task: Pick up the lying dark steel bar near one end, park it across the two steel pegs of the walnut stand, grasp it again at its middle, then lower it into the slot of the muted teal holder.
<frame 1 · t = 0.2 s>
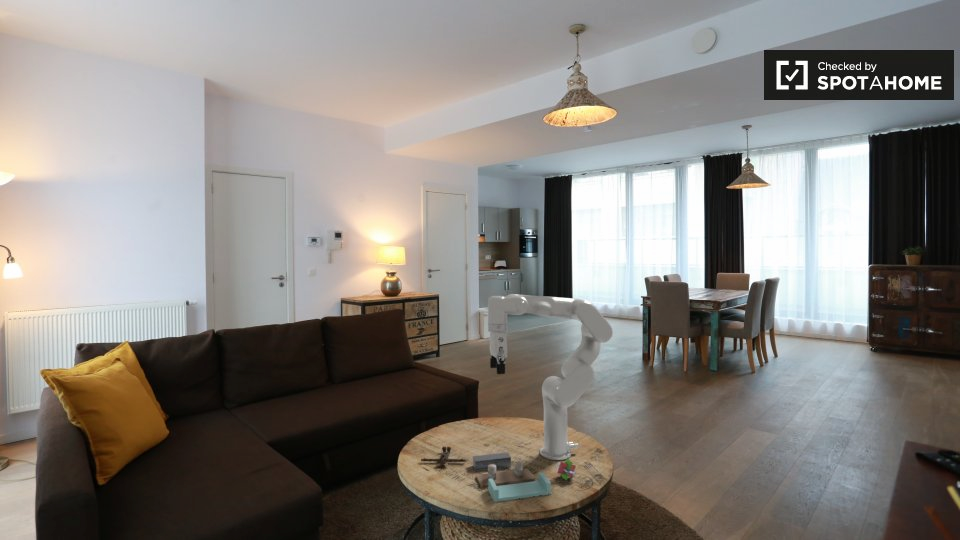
hand: (497, 370, 186), 36 cm above the table, tool pointing down, fingers open, 9 cm apart
geometric puzzle: (566, 478, 172), on the table
bear figurine: (444, 461, 188), on the table
peg stand: (505, 479, 172), on the table
steel bar: (491, 466, 182), on the table
slot holder: (519, 492, 162), on the table
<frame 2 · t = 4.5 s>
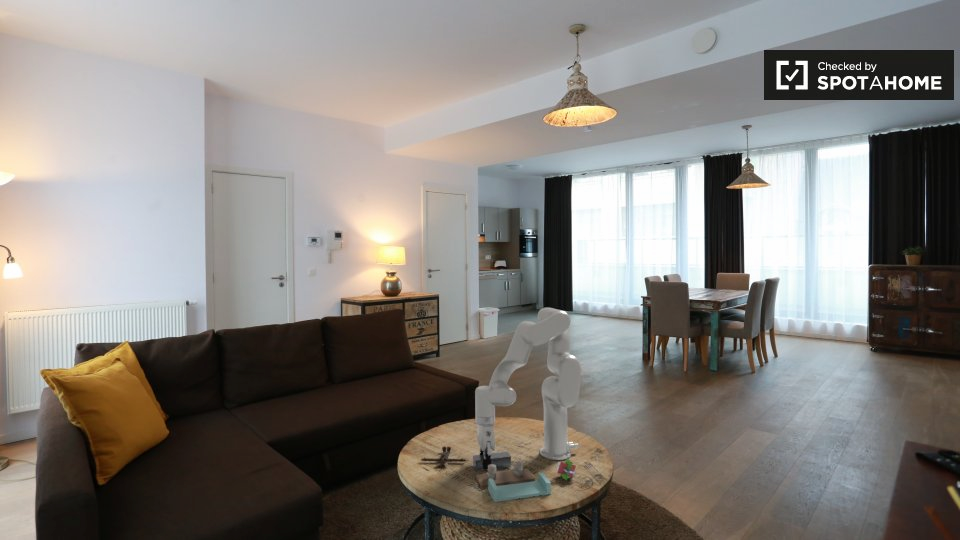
hand: (485, 465, 182), 1 cm above the table, tool pointing down, fingers closed on steel bar, 4 cm apart
steel bar: (491, 466, 182), on the table, touching gripper
everything else where it was.
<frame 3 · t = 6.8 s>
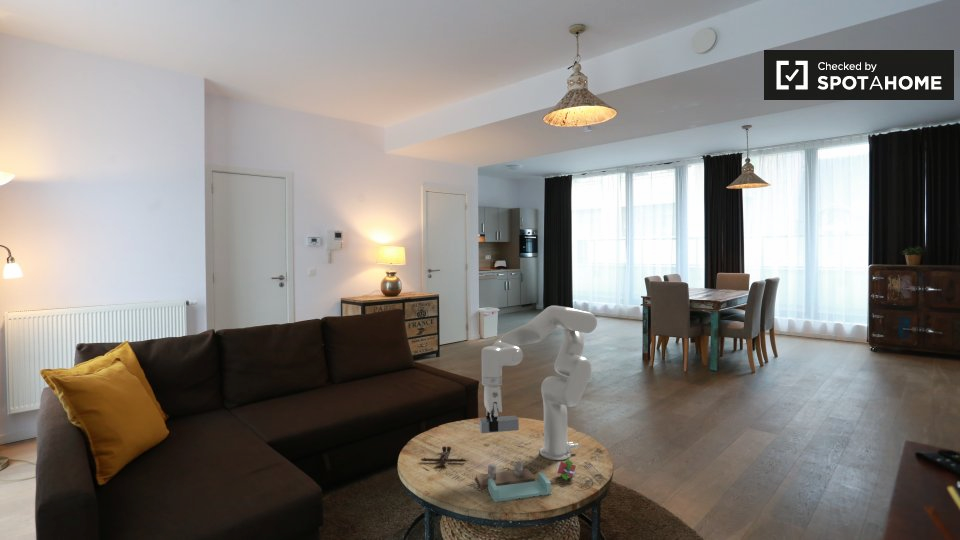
hand: (492, 428, 175), 17 cm above the table, tool pointing down, fingers closed on steel bar, 4 cm apart
steel bar: (498, 429, 176), point 17 cm above the table, touching gripper
everything else where it was.
when the fingers open (7 cm above the table, at t = 9.6 s): steel bar drops 1 cm, resting on peg stand.
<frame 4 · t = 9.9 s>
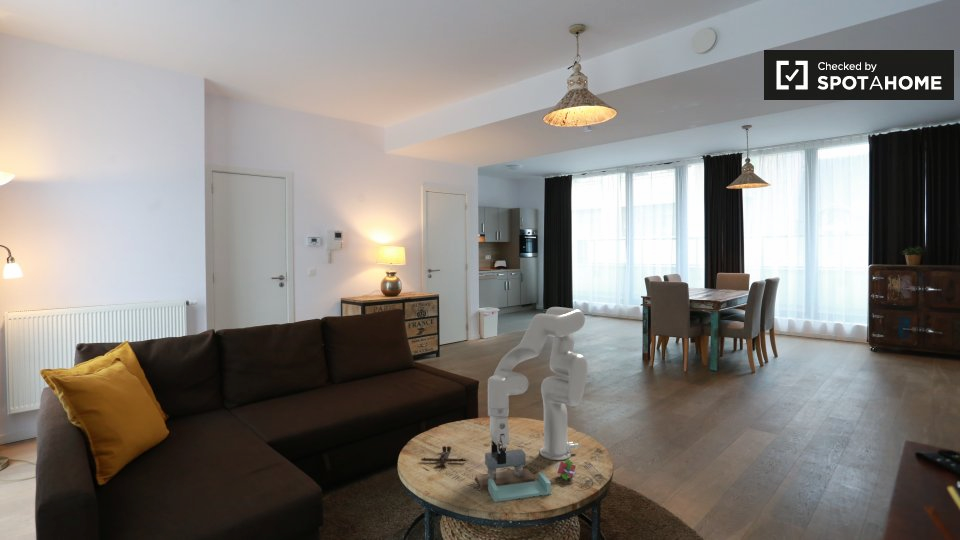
hand: (498, 458, 171), 8 cm above the table, tool pointing down, fingers open, 7 cm apart
steel bar: (505, 464, 172), point 5 cm above the table, touching peg stand
everything else where it was.
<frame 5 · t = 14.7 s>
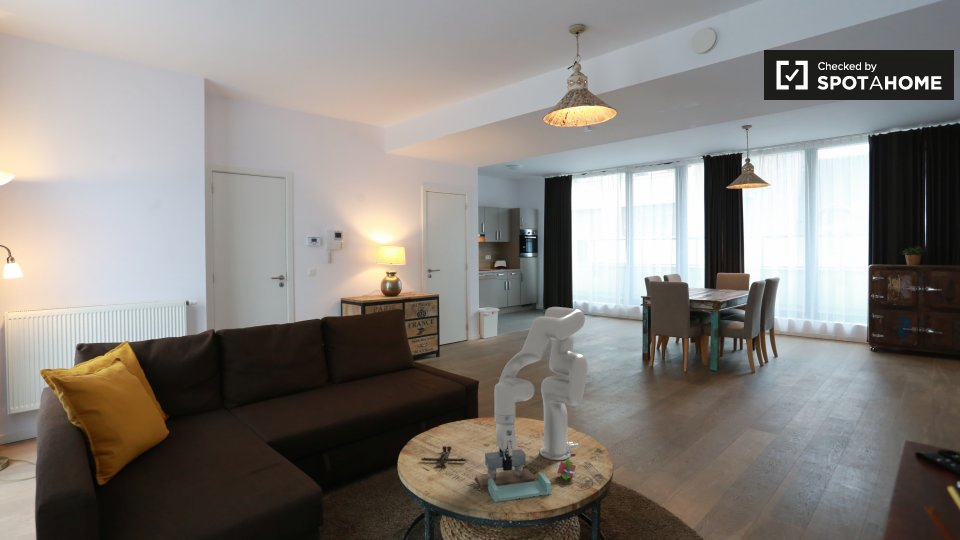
hand: (505, 466, 172), 5 cm above the table, tool pointing down, fingers closed on steel bar, 4 cm apart
steel bar: (505, 464, 172), point 6 cm above the table, touching gripper, peg stand
everything else where it was.
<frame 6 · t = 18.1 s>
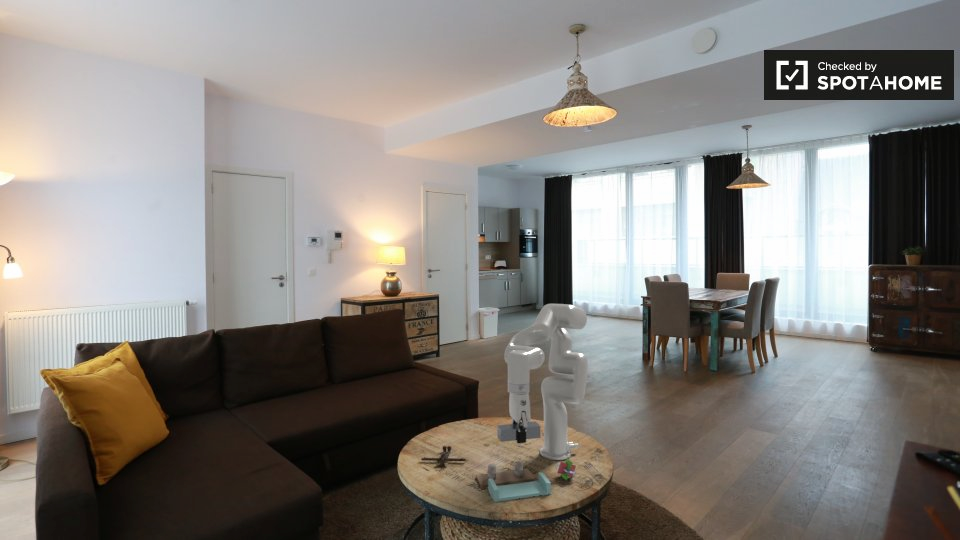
hand: (519, 439, 162), 19 cm above the table, tool pointing down, fingers closed on steel bar, 4 cm apart
steel bar: (518, 437, 162), point 19 cm above the table, touching gripper
everything else where it was.
when the fingers open (2 cm above the table, at t = 21.4 s): steel bar drops 1 cm, resting on slot holder.
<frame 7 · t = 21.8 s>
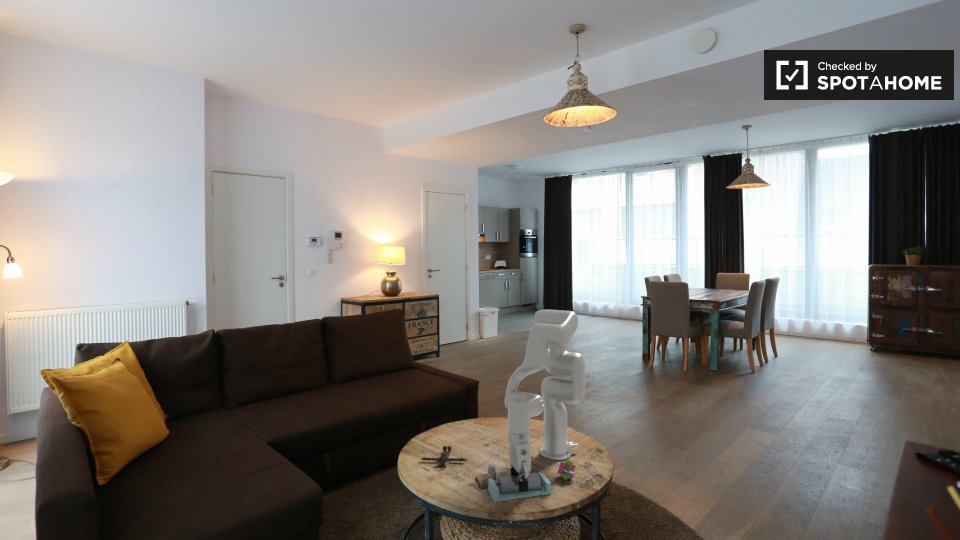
hand: (519, 484, 162), 3 cm above the table, tool pointing down, fingers open, 8 cm apart
steel bar: (519, 489, 163), point 1 cm above the table, touching slot holder
everything else where it was.
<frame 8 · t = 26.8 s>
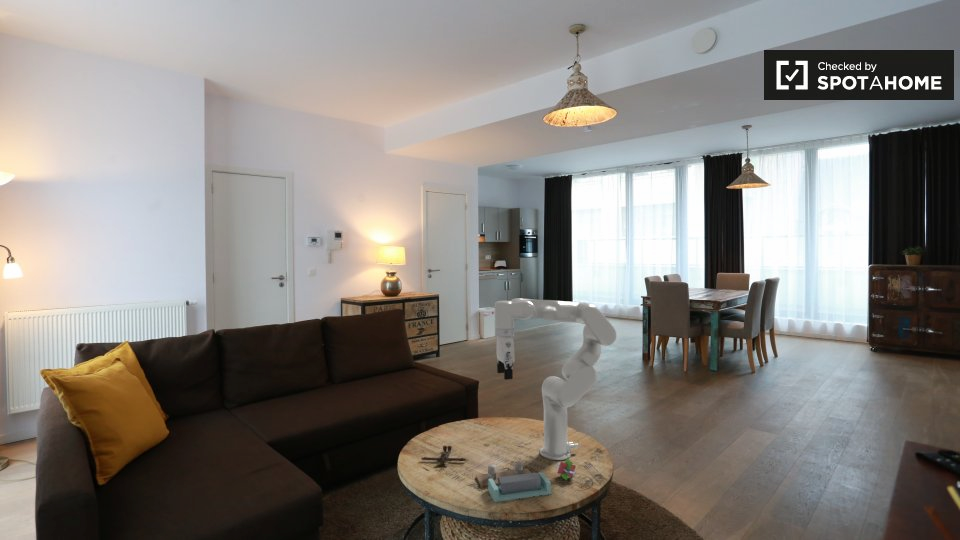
hand: (504, 375, 184), 34 cm above the table, tool pointing down, fingers open, 9 cm apart
nothing on the table moved.
at the end: steel bar 0.1 cm off-centre on the slot holder, point 1.0 cm above the slot holder's base; steel bar tilted 0°; the gripper is holding nothing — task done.
